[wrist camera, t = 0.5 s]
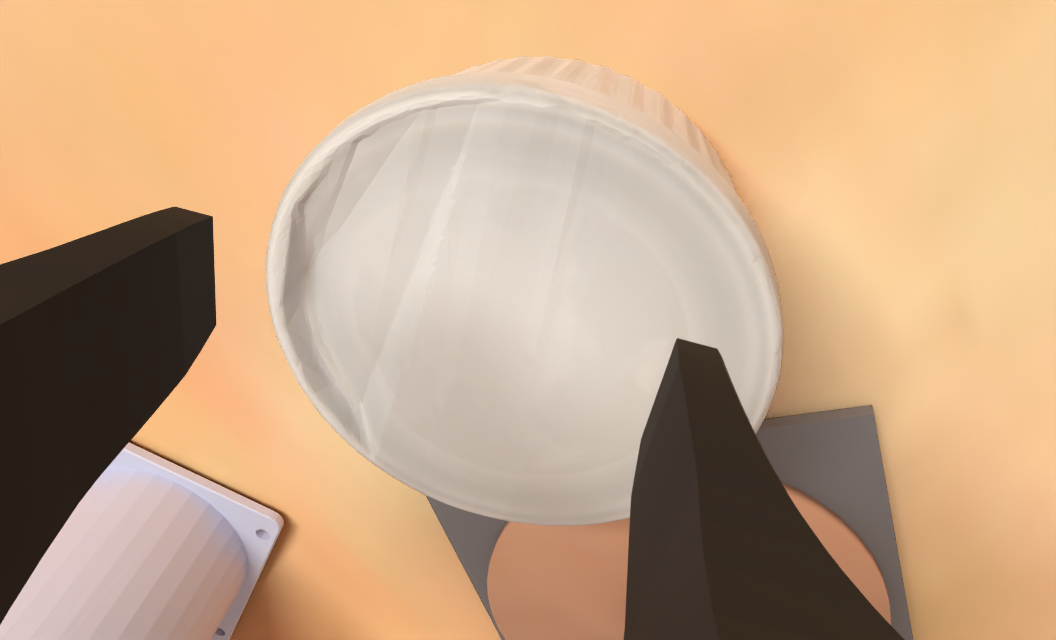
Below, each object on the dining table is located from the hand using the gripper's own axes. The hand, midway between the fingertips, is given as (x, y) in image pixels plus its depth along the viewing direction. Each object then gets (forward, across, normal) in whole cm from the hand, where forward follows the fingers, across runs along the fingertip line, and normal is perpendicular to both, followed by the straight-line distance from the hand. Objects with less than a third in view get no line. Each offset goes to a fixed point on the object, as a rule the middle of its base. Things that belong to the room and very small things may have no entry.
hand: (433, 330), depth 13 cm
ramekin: (+10, -1, +3) cm, 10 cm away
